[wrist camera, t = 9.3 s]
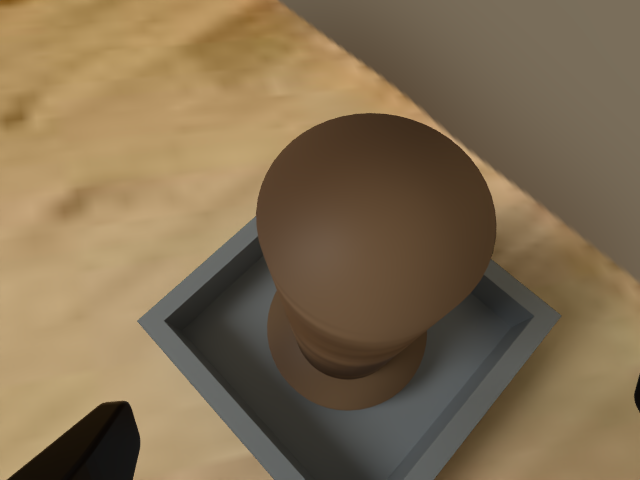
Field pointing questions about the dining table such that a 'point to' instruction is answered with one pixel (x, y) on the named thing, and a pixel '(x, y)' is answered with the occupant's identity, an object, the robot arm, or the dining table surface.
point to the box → (329, 424)
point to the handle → (368, 252)
